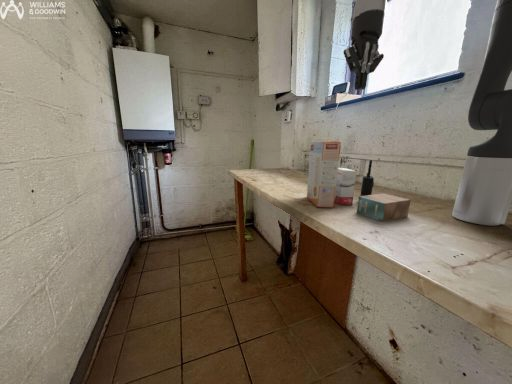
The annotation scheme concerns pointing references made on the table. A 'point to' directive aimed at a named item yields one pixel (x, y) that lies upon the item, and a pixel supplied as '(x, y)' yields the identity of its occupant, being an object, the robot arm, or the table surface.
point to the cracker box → (323, 173)
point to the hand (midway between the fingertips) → (359, 89)
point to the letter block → (383, 206)
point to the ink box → (345, 186)
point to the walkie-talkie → (367, 182)
